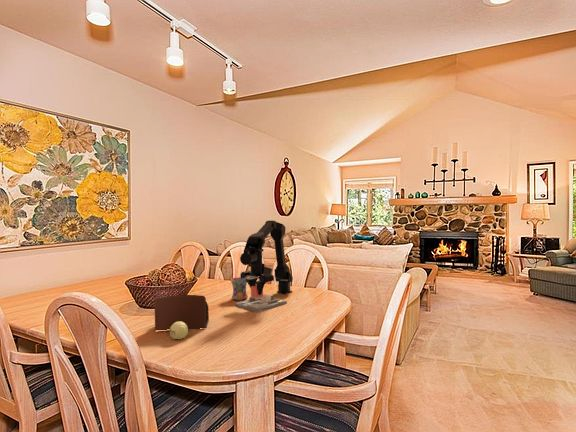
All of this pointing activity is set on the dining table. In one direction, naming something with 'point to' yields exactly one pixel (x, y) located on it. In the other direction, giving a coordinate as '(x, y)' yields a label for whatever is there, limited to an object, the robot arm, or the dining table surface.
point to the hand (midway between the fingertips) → (257, 294)
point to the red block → (255, 292)
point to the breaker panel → (260, 304)
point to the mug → (239, 288)
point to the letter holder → (181, 311)
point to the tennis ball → (178, 330)
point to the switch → (266, 298)
